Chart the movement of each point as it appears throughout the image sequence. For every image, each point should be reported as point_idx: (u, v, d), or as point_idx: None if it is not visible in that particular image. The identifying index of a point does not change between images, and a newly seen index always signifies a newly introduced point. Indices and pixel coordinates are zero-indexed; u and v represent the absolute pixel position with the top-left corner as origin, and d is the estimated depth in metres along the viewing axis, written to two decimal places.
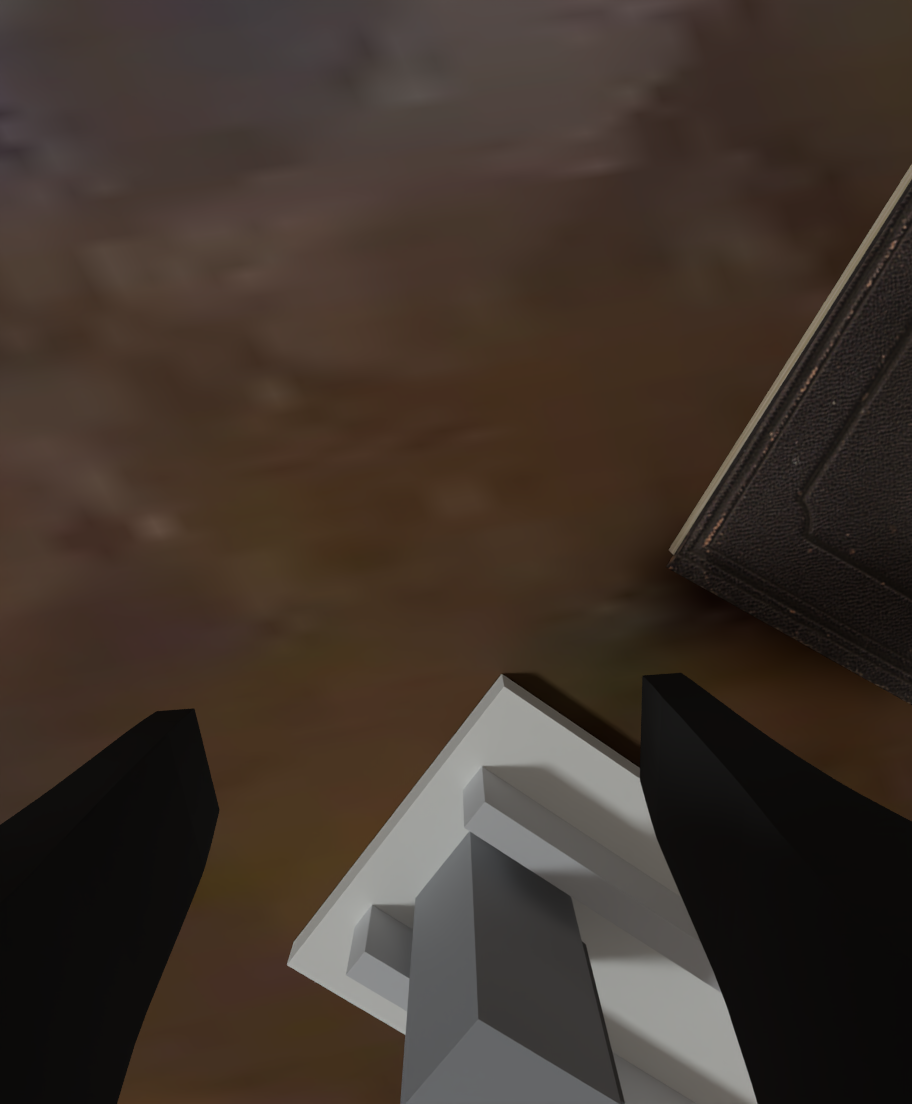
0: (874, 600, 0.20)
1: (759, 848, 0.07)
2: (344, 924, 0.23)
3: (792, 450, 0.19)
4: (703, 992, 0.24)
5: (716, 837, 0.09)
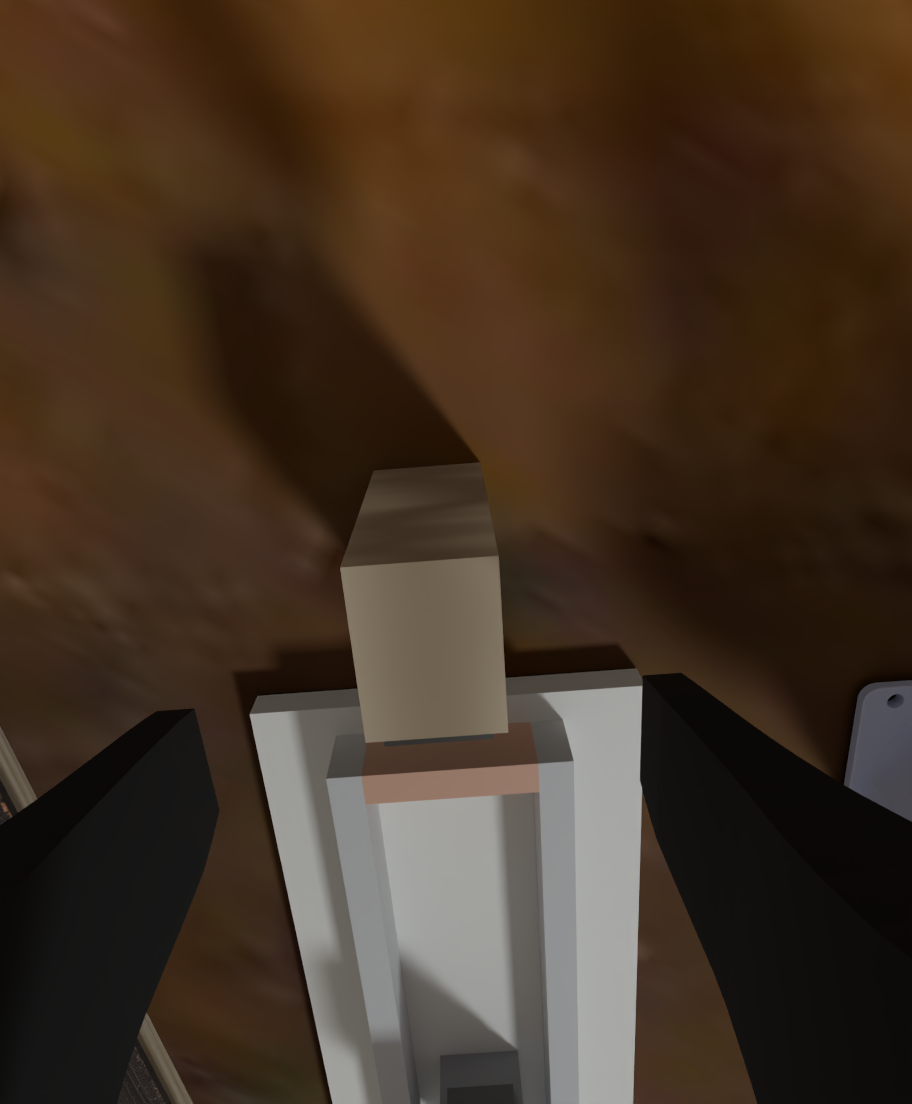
0: None
1: (759, 848, 0.07)
2: None
3: None
4: (436, 944, 0.25)
5: (716, 837, 0.09)
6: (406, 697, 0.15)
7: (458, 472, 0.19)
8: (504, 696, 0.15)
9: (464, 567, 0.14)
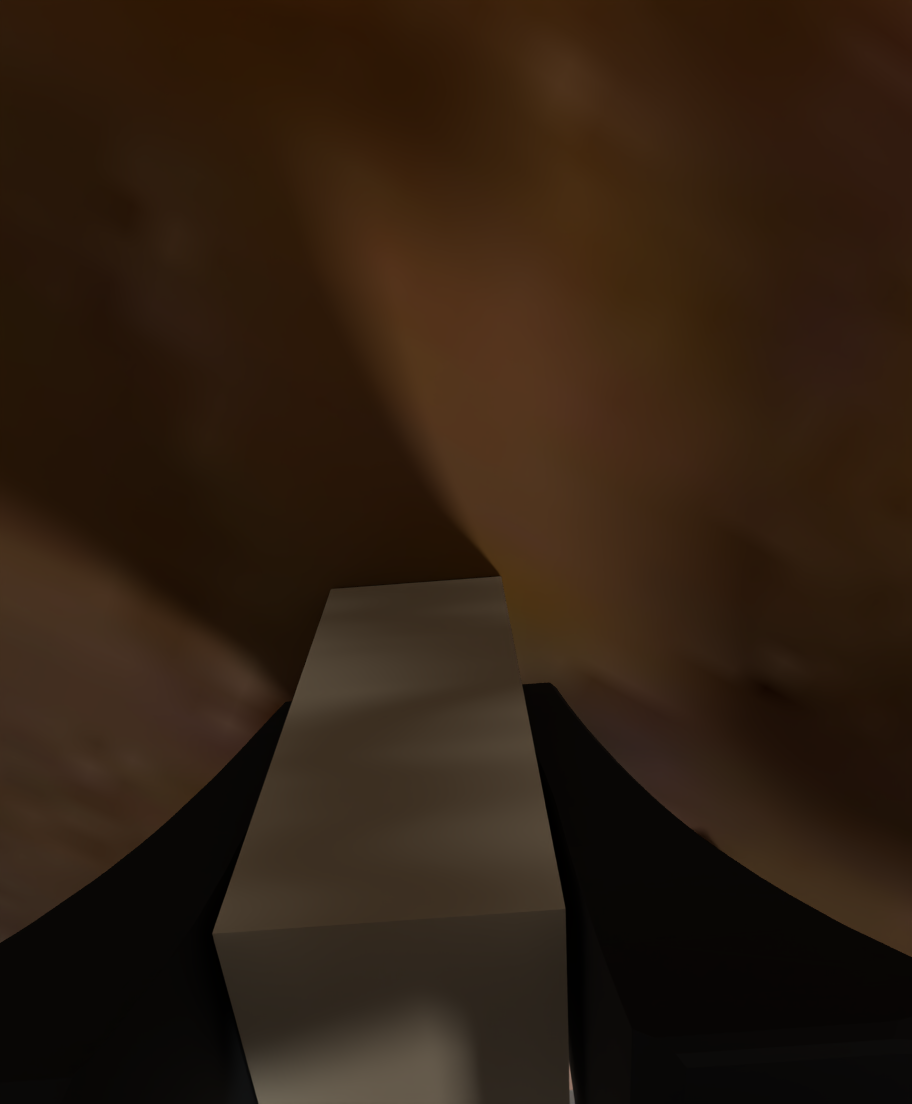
0: None
1: (563, 862, 0.07)
2: None
3: None
4: None
5: None
6: None
7: (466, 600, 0.12)
8: None
9: (489, 932, 0.06)
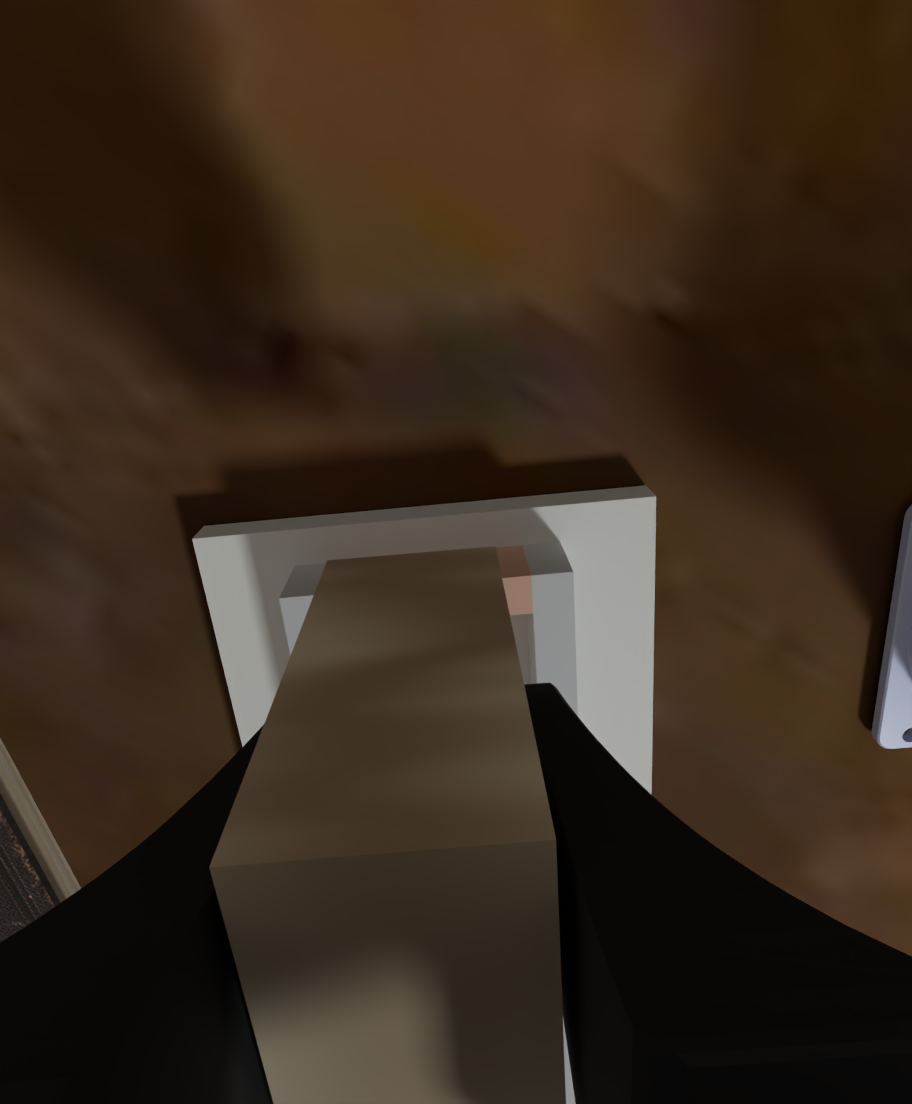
0: None
1: (564, 862, 0.07)
2: None
3: None
4: None
5: None
6: (364, 1083, 0.07)
7: (461, 568, 0.12)
8: (561, 1076, 0.07)
9: (481, 863, 0.06)
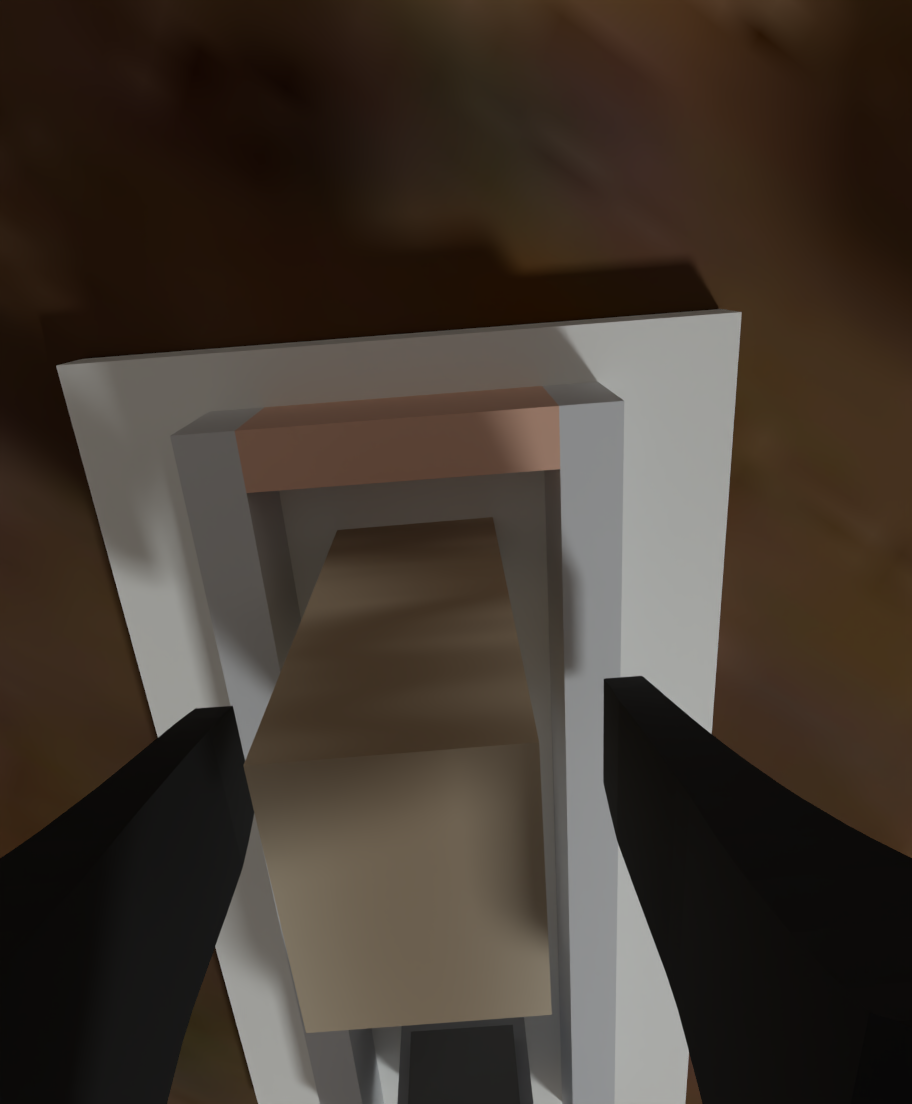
0: None
1: (700, 852, 0.07)
2: None
3: None
4: None
5: (666, 841, 0.09)
6: (374, 967, 0.08)
7: (460, 535, 0.13)
8: (546, 962, 0.08)
9: (475, 763, 0.07)
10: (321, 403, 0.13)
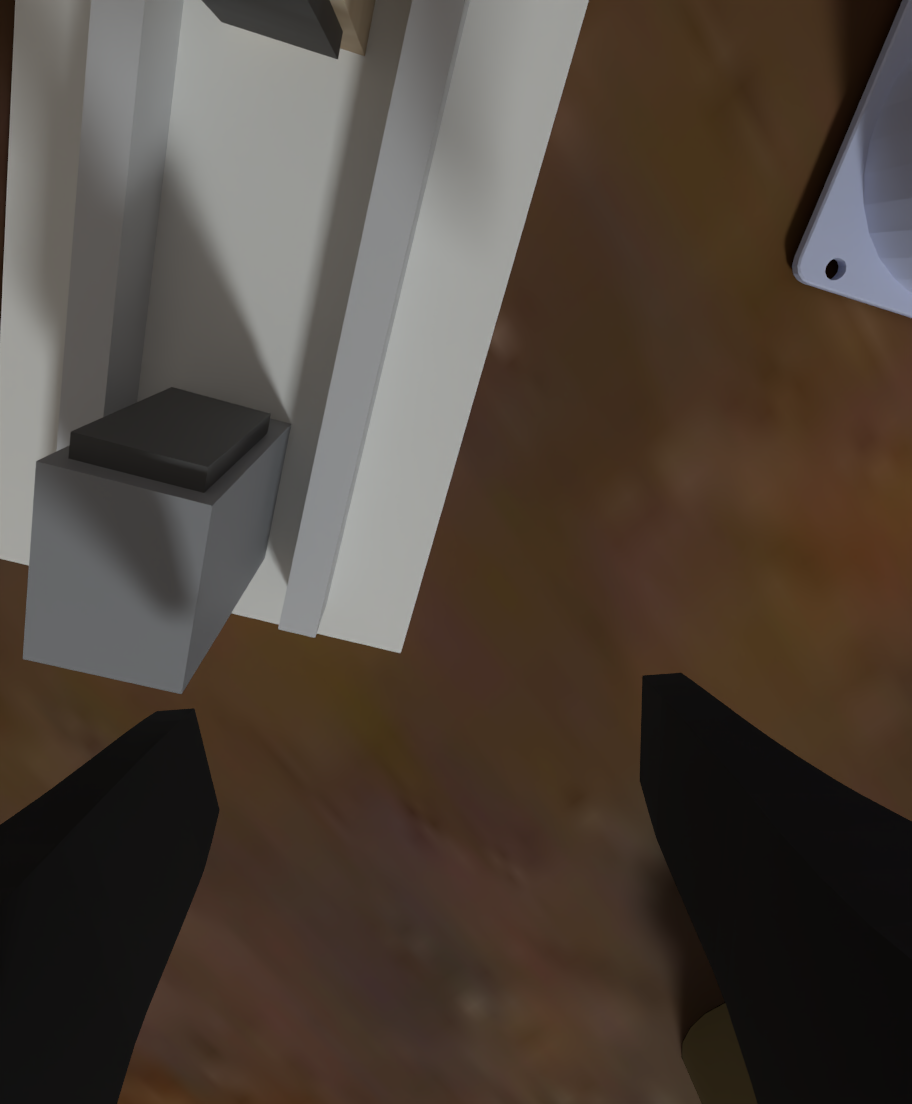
0: None
1: (759, 848, 0.07)
2: (328, 615, 0.21)
3: None
4: (227, 152, 0.17)
5: (716, 838, 0.09)
6: None
7: None
8: None
9: None
10: None
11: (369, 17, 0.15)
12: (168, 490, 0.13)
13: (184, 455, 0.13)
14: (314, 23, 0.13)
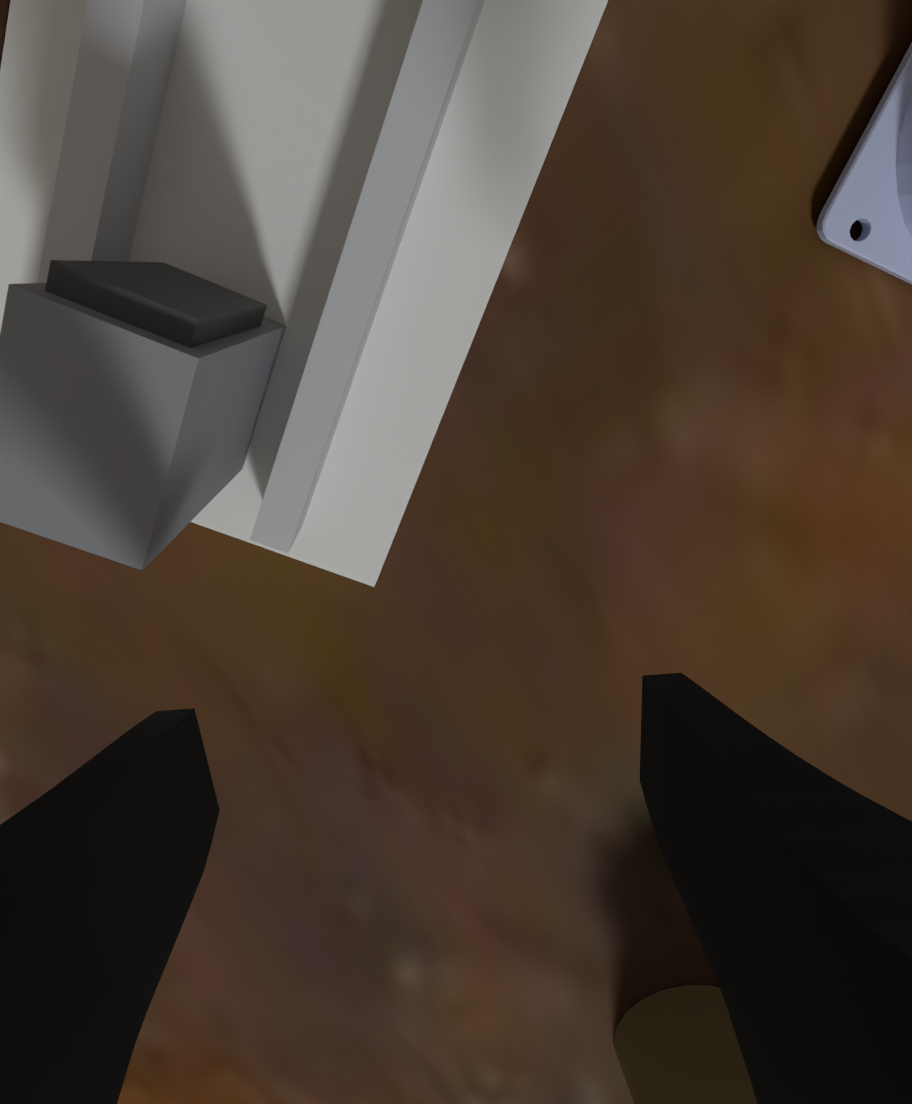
0: None
1: (759, 848, 0.07)
2: (302, 538, 0.20)
3: None
4: (249, 19, 0.16)
5: (716, 837, 0.09)
6: None
7: None
8: None
9: None
10: None
11: None
12: (152, 338, 0.12)
13: (173, 306, 0.12)
14: None
